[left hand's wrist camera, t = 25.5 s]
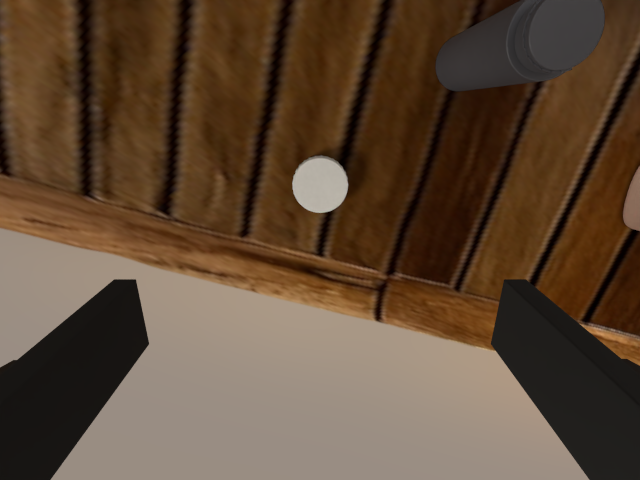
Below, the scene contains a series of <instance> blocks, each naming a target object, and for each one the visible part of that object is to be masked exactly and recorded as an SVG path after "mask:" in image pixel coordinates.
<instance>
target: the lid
mask: <svg viewBox="0 0 640 480" xmlns="http://www.w3.org/2000/svg"><path fill="white" fill-rule="evenodd" d="M293 177H294V179H293V182H292V183H293V192H294V195H295V197H296V199H297V201H298V202H299V203H300V204H301V205H302V206H303V207H304V208H306V209H307V210H309V211H312V212H317V213H324V212H328V211H331V210H333V209H335V208H337V207H338V206H339V205H340V204H341V203H342V202H343V200H344V199H345V197H346V194H347V191H348V181H347V179H348V178H347V176H346V172H345V171H344V169H343V167H342V166H341V165H340V164H339V162H338V161H335V160H334V159H333V158H330V157H328V156H327V157H326V156H322V155H321V156H316V155H315V157H311V158H310V157H309V159H307V160H304V162H303V163H302V164H300V165H299V167H298V169H296V173H295V174H294V176H293Z"/></svg>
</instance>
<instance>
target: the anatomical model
mask: <svg viewBox="0 0 640 480" xmlns="http://www.w3.org/2000/svg"><path fill="white" fill-rule="evenodd" d="M623 220H624V223H625V224H626V225H627V226H628V227H630V228H632V229H635V230H638V231H640V166H639V167H638V169H637V171H636V173H635V175H634V177H633V179H632V181H631V184H630V187H629V190H628V193H627V196H626V200H625V204H624V210H623Z"/></svg>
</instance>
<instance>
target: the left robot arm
mask: <svg viewBox="0 0 640 480" xmlns="http://www.w3.org/2000/svg"><path fill="white" fill-rule="evenodd" d="M148 345H149V342H148V337H147V332H146V327H145V322H144V317H143V312H142V307H141V302H140V298H139V293H138V288H137V283H136V280H113V281H112V282H111V283H110V284H108V285H107V286H106V287H105V288H104V289H102V290H101V291H100V292H99V293H98V294H96V295H95V296H94V297H93V298H91V299H90V300H89V301H88V302H87V303H85V304H84V305H83V306H82V307H81V308H79V309H78V310H77V311H76V312H75V313H73V314H72V315H71V316H70V317H69V318H67V319H66V320H65V321H64V322H63V323H61V324H60V325H59V326H58V327H57V328H55V329H54V330H53V331H52V332H51V333H49V334H48V335H47V336H46V337H45V338H43V339H42V340H41V341H40V342H38V343H37V344H36V345H35V346H34V347H33V348H31V349H30V350H29V351H28V352H26V353H25V354H24V355H23V356H22V357H20V358H19V359H18V360H13V361H11V362H9V363H8V364H6V365H4V366H2V367H0V480H51V478H52V477H53V475H54V474H55V473H56V471H57V470H58V469H59V467H60V466H61V464H62V463H63V462H64V460H65V459H66V458H67V456H68V455H69V453H70V452H71V451H72V449H73V448H74V447H75V445H76V444H77V442H78V441H79V440H80V438H81V437H82V435H83V434H84V433H85V431H86V430H87V429H88V427H89V426H90V425H91V423H92V422H93V420H94V419H95V418H96V416H97V415H98V414H99V412H100V411H101V409H102V408H103V407H104V405H105V404H106V402H107V401H108V400H109V398H110V397H111V396H112V394H113V393H114V391H115V390H116V389H117V387H118V386H119V384H120V383H121V382H122V380H123V379H124V378H125V376H126V375H127V374H128V372H129V371H130V369H131V368H132V367H133V365H134V364H135V363H136V361H137V360H138V358H139V357H140V356H141V354H142V353H143V352H144V350H145V349H146V347H147V346H148ZM491 345H492V346H493V347H494V349H495V350H496V352H497V353H498V354H499V356H500V357H501V358H502V360H503V361H504V363H505V364H506V365H507V367H508V368H509V369H510V371H511V372H512V374H513V375H514V376H515V378H516V379H517V380H518V382H519V383H520V385H521V386H522V387H523V389H524V390H525V391H526V393H527V394H528V396H529V397H530V398H531V400H532V401H533V402H534V404H535V405H536V406H537V408H538V409H539V411H540V412H541V414H542V415H543V416H544V418H545V419H546V420H547V422H548V423H549V424H550V426H551V427H552V429H553V430H554V431H555V433H556V434H557V435H558V437H559V438H560V440H561V441H562V442H563V444H564V445H565V447H566V448H567V449H568V451H569V452H570V453H571V455H572V456H573V457H574V459H575V460H576V462H577V463H578V464H579V466H580V467H581V469H582V470H583V471H584V473H585V474H586V475H587V477H588V478H589V480H640V366H639V365H637V364H635V363H633V362H631V361H630V360H628V359H621V358H620V357H618V356H617V355H616V354H615V353H614V352H612V351H611V350H610V349H609V348H608V347H606V346H605V345H604V344H603V343H602V342H600V341H599V340H598V339H597V338H595V337H594V336H593V335H592V334H591V333H589V332H588V331H587V330H586V329H585V328H583V327H582V326H581V325H580V324H579V323H577V322H576V321H575V320H574V319H573V318H571V317H570V316H569V315H568V314H567V313H565V312H564V311H563V310H562V309H561V308H559V307H558V306H557V305H556V304H555V303H553V302H552V301H551V300H550V299H549V298H547V297H546V296H545V295H544V294H543V293H541V292H540V291H539V290H538V289H536V288H535V287H534V286H533V285H532V284H530V283H529V282H528V281H527V280H504V283H503V288H502V293H501V298H500V302H499V307H498V312H497V317H496V322H495V327H494V332H493V336H492V341H491Z"/></svg>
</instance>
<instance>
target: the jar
mask: <svg viewBox="0 0 640 480" xmlns="http://www.w3.org/2000/svg"><path fill="white" fill-rule="evenodd" d="M604 22H605V14H604V8H603V5H602V2H601V0H521V1H519V2H517V3H515V4H513V5H511V6H510V7H508V8H506V9H504V10H502V11H500V12H498V13H497V14H495V15H493V16H491V17H489V18H487V19H485V20H484V21H482V22H480V23H478V24H476V25H474V26H472V27H471V28H469V29H467V30H465V31H463V32H461V33H459V34H458V35H456V36H454V37H452V38H451V39H449V40H448V41H447V42H446V43H445V44H444V45H443V46H442V48H441V49H440V51H439V53H438V56H437V59H436V73H437V77H438V79H439V81H440V82H441V84H442V85H443V86H444V87H446V88H447V89H449V90H452V91H466V90H474V89H482V88H490V87H498V86H506V85H514V84H522V83H530V82H538V81H546V80H550V79H553V78H556V77H558V76H560V75H562V74H563V73H565V72H566V71H569V70H572V67H574V66H576V65H578V64H579V63H581V62H582V61H583V60H584V59H586V58H587V57H588V56H589V55H590V54H591V52H592V51H593V50H594V49H595V47H596V46H597V44H598V42H599V40H600V38H601V35H602V32H603V29H604Z"/></svg>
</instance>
